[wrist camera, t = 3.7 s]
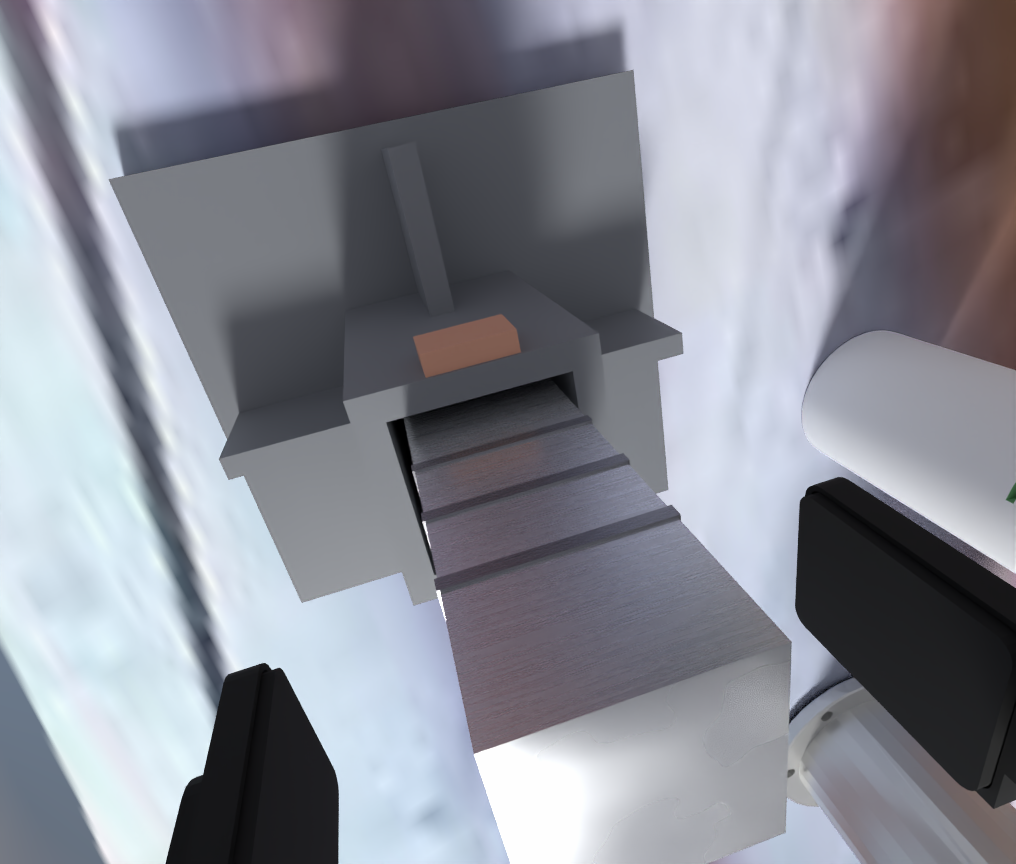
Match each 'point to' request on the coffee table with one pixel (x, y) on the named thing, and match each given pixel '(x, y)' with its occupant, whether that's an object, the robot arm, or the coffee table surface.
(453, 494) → the steel post
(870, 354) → the cylindrical container
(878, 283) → the coffee table surface
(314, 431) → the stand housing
